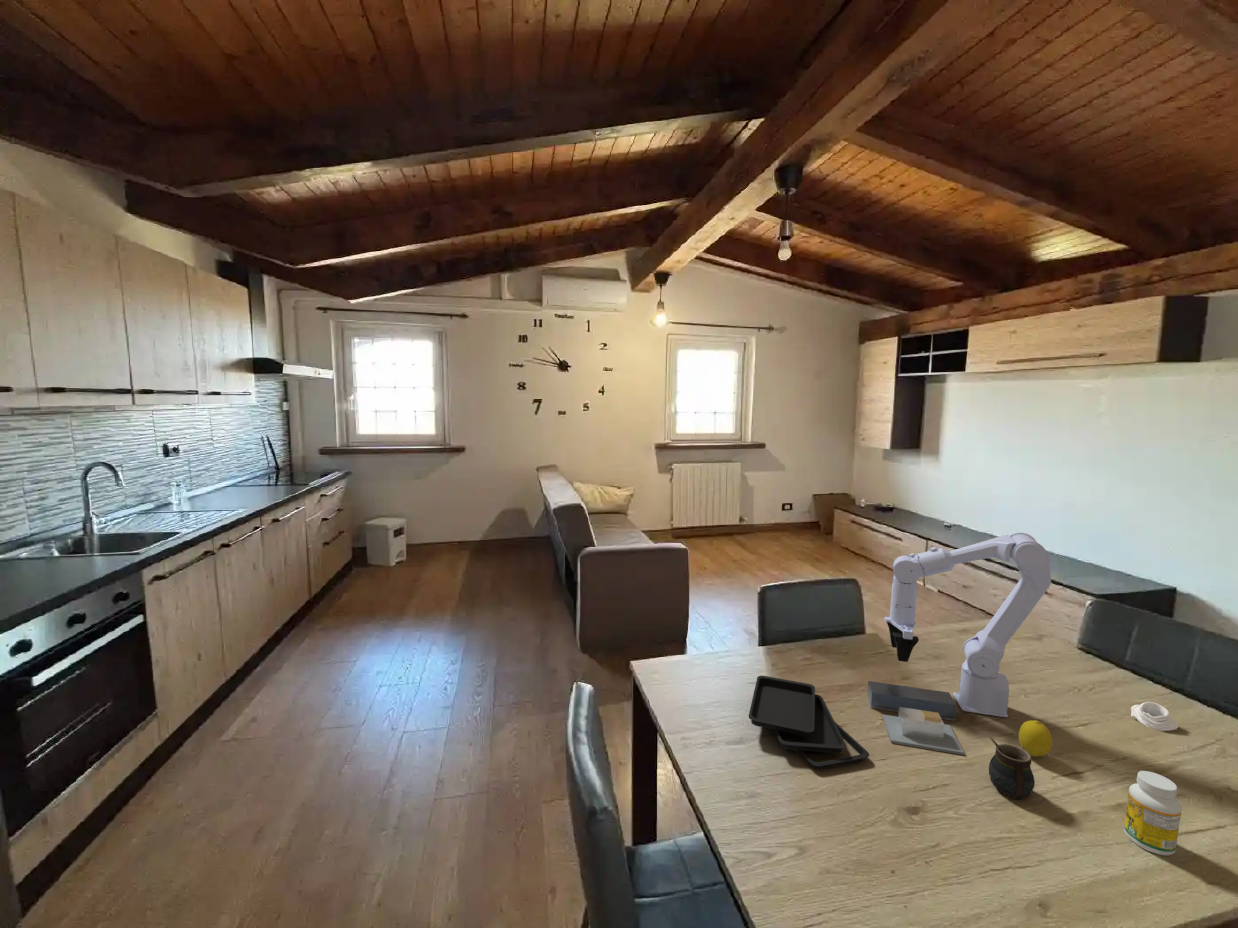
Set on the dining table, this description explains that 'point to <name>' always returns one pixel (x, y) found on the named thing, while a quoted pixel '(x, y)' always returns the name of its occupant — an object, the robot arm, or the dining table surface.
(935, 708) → the body
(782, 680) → the stack of dark trays
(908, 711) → the pale grey block
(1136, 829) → the supplement bottle
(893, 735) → the mat
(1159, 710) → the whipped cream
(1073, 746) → the dining table surface
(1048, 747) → the lemon
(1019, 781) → the mate gourd
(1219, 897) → the dining table surface
